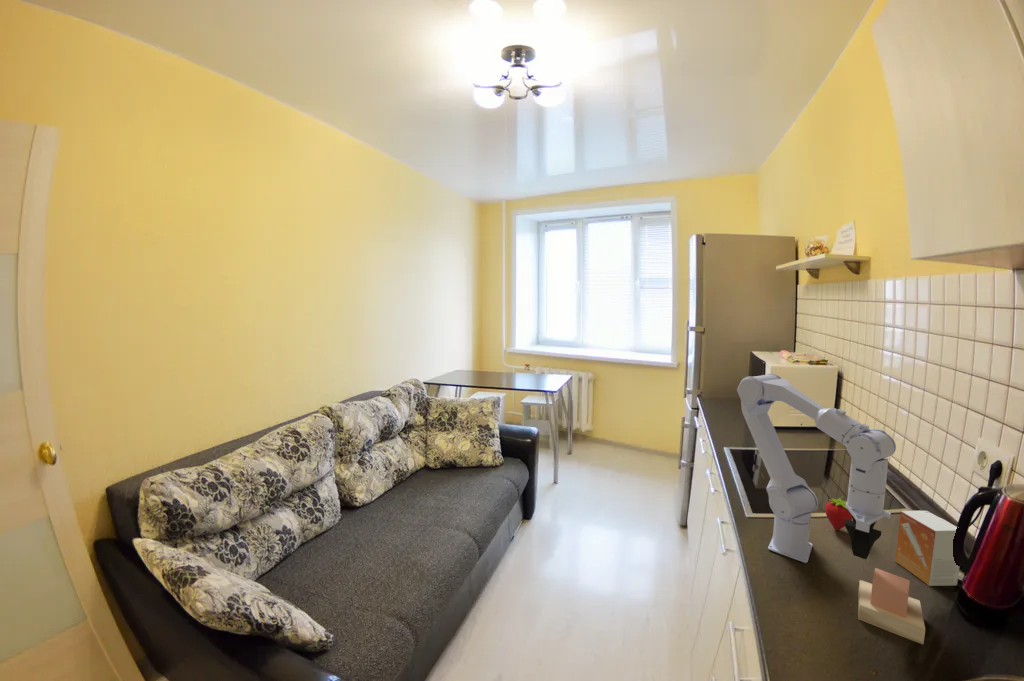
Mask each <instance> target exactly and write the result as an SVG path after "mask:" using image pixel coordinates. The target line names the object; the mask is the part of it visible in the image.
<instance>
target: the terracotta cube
mask: <svg viewBox="0 0 1024 681" xmlns="http://www.w3.org/2000/svg"><path fill="white" fill-rule="evenodd" d="M910 581H911V580H910V579H907V578H905V577H902V576H900V575H896V574H893V573H891V572H888V571H885V570H882V569H880V568H877V567H875V569H874V572H873V577H872V583H871V584H872V593H871V603H870V604H872V605H875V606H877V607H880V608H882V609H885V610H887V611H889V612H892V613H894V614H897V615H899V616H902V617H904V618H906V614H907V605H908V597H910V596H909V595H910V594H909V593H910Z"/></svg>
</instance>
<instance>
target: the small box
mask: <svg viewBox="0 0 1024 681" xmlns="http://www.w3.org/2000/svg"><path fill="white" fill-rule="evenodd" d="M898 524H899V525H898V530H897V532H898V533H897V540H896V547H895V548H896V549H895V557H894V562H895V563H896V564H898V565H899V566H901V567H902V568H904V569H905V570H906V571H908V572H909V573H911V574H913V575H914V577H916V578H918V579H919V580H920V581H922V582H924V583H925V584H926V585H927V586H929V587H933V586H935V587H938V586H939V587H941V586H942V587H944V586H945V587H946V586H947V587H949V586H950V587H951V586H952V587H953V586H955V587H956V586H957V585H958V581H959V573H960V572H959V571H960V566H958V565H956V563H955V561H954V557H953V539H954V536H955V533H956V529H957V527H958V526H956V525H955V524H952V523H951V522H949V521H947V520H946V519H944V518H941V517H939V516H938V515H936V514H934V513H932V512H930V511H928V510H901V511H900V516H899V523H898Z"/></svg>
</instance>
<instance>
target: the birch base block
mask: <svg viewBox="0 0 1024 681" xmlns="http://www.w3.org/2000/svg"><path fill="white" fill-rule="evenodd" d="M858 584H859V585H858V596H857V597H858V598H857V599H858V600H857V601H858V602H857V604H858V610H857V612H858V613H857V614H858V617H857V619H858V620H860V621H862V622H865V623H867V624H869V625H872V626H875V627H877V628H880V629H882V630H884V631H888V632H889V633H892V634H895V635H898V636H900V637H903V638H905V639H907V640H910V641H912V642H915V643H918V644H921V645H924V643H925V642H924V641H925V636H926V635H925V634H926V626H925V622H924V620H925V619H924V615H923V611H922V605H921V601H920V600H919V599H917V598H913V597H910V596H908V605H907V614H906V618H904V617H902V616H899V615H897V614H894V613H892V612H889V611H887V610H885V609H882V608H880V607H877V606H875V605H872V604H870V603H871V593H872V583H871V582H868V581H864V580H862V579H859V583H858Z"/></svg>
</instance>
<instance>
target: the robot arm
mask: <svg viewBox="0 0 1024 681" xmlns="http://www.w3.org/2000/svg"><path fill="white" fill-rule="evenodd" d="M736 391H737V393H738V396H739V399H740V403H741V405H740V408H741V413H742V415H743V418H744V420H745V422H746V425H747V427H748V430H749V432H750V434H751V436H752V439H753V441H754V444H755V446H756V448H757V450H758V453H759V455H760V457H761V460H762V462H763V464H764V467H765V469H766V471H767V474H768V476H769V478H770V480H769V482H768V484H767V486H766V488H765V489H766V493H767V495H768V503H769V507H770V509H771V511H772V513H773V516H774V521H773V530H772V532H773V533H772V537H771V540H770V543H769V544H768V547H767V549H768V550H769V551H772V552H774V553H776V554H779V555H782V556H785V557H788V558H789V559H793V560H796V561H798V562H802V563H804V564H808V561H809V559H810V555H811V552H812V548H813V543H812V542H810V541H809V540H810V529H811V528H810V527H811V518H812V513H813V512H815V511H817V509H818V507H819V499H818V497H817V495H816V494H815V492H814V491H813V490H812V489H811V488H810V487H809V486H808V483H807V482H806V480H805V479H804V478H802V477H801V476H799V475H797V473H795V471H794V468H793V466H792V464H791V462H790V460H789V458H788V456H787V453H786V451H785V449H784V447H783V445H782V441H781V440H780V438H779V435H778V433H777V431H776V429H775V426H774V424H773V423H772V421H771V417H770V416H769V411H770V409H771V407H772V405H773V404H774V403H776V402H783V403H784V404H786V405H788V406H790V408H791V407H792V408H793V409H795V410H796V411H798V412H800V413H802V414H804V415H805V416H807V417H809V418H810V419H812V420H814V423H815V427H816V428H817V429H818V430H820V431H821V432H823V433H824V434H826V435H828V436H829V437H830V438H832V439H833V440H835V441H836V442H838V443H840V444H841V445H842V446H845V448H846V451H847V453H848V454H849V456H850V467H849V468H850V470H849V479H848V480H849V482H848V490H847V491H848V492H847V500H846V501H847V502H846V508H847V509H848V510H849V512H850V513H851V515H852V520H847V519H845V527H844V528H845V529H846V530H847V532H848V536H849V538H850V539H849V540H850V545H851V546H850V547H851V550H852V555H853V556H854V557H858V558H860V559H863V560H867V559H868V557H869V555H870V553H871V550H872V547H873V545H874V544H875V542H877V540H878V539H880V538H881V536H882V530H879V529H875V528H874V527H875V525H876V523H877V522H878V521H879V520H881V519H883V518H885V519H891V517H892V516H891V515H892V514H891V512H890V511H887V510H884V507H885V506H884V505H885V497H886V488H887V487H886V486H887V479H888V478H887V477H888V466H889V457H891V456H893V455H894V454H895V453H896V450H897V445H896V442H895V440H894V438H892V436H891V435H889V434H888V433H887V432H886V431H885V430H882V429H877V428H870V426H869V425H867V424H865V423H863V424H862V423H860V422H859V421H857V420H856V419H854V418H852V417H851V416H849V415H847V411H846V410H844V409H842V408H838V409H837V407H836V408H835V407H829V408H826V407H823V406H822V405H821V404H819V403H818V402H816V401H815V400H813V399H812V398H810V397H809V396H808V395H806V394H804V393H803V392H802V391H800V390H799V389H797V388H796V387H794V386H793V385H792V384H791V383H790V382H789V381H788V380H787V379H785V378H782V376H781V375H778V374H776V373H766V374H763V375H757V376H745V377H743V378H742V379H741V380H740V382H739V384H738V386H737V388H736Z"/></svg>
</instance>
